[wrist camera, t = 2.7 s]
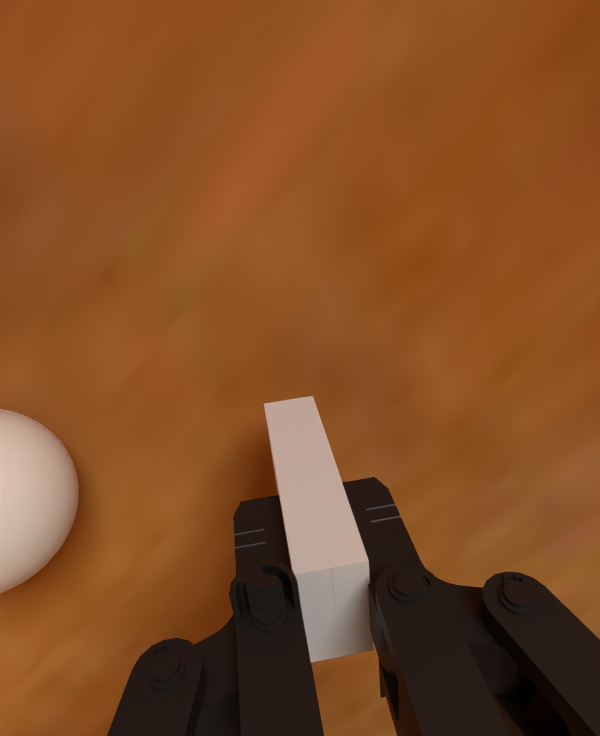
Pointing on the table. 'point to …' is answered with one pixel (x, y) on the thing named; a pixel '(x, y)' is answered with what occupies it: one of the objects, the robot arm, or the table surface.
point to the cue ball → (32, 497)
